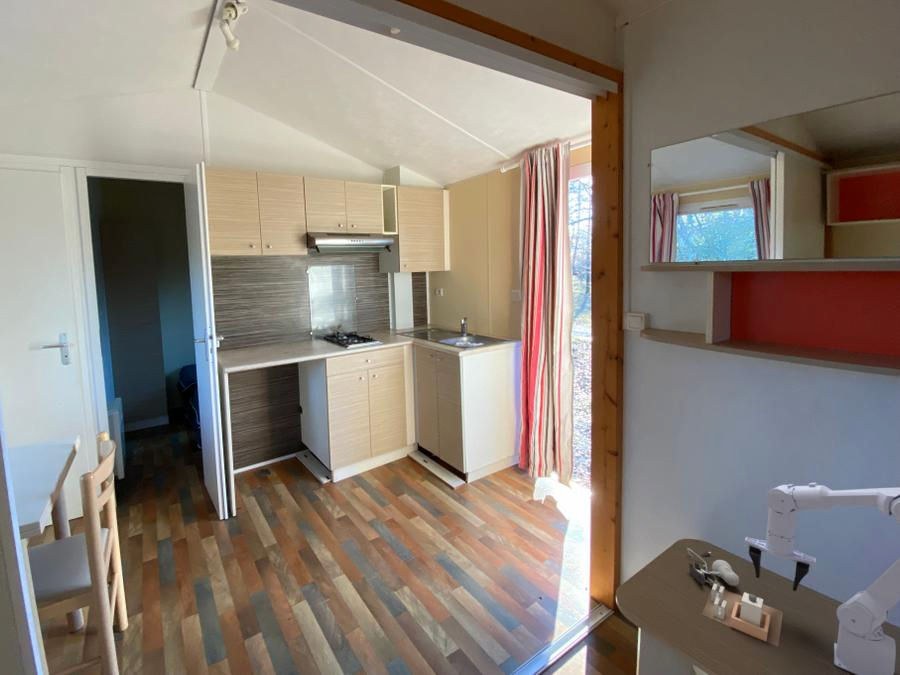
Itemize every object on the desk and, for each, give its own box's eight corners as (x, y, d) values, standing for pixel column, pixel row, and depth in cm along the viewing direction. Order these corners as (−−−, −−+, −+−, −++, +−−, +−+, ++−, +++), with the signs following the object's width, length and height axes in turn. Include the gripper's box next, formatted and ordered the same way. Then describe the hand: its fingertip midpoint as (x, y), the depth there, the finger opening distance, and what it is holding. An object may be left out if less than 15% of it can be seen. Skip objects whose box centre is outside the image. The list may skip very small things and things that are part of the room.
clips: (729, 601, 120) (730, 589, 120) (723, 620, 114) (724, 607, 113) (713, 594, 123) (714, 583, 122) (706, 612, 116) (707, 600, 116)
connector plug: (760, 625, 112) (763, 595, 111) (758, 634, 109) (761, 604, 108) (742, 617, 114) (744, 588, 114) (739, 626, 111) (741, 596, 111)
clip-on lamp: (679, 565, 142) (699, 590, 125) (676, 544, 143) (697, 566, 126) (719, 566, 140) (745, 591, 123) (716, 544, 141) (742, 567, 124)
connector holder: (769, 623, 112) (770, 614, 112) (766, 641, 107) (767, 631, 106) (734, 610, 117) (735, 601, 117) (730, 626, 111) (730, 617, 111)
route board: (783, 615, 117) (783, 611, 117) (777, 650, 105) (778, 646, 105) (712, 588, 127) (713, 585, 127) (701, 618, 116) (701, 614, 115)
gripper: (817, 536, 112) (812, 586, 114) (748, 516, 121) (744, 563, 123) (817, 548, 107) (811, 601, 108) (745, 527, 116) (740, 576, 118)
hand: (775, 582), depth 115 cm, fingers open, 7 cm apart
